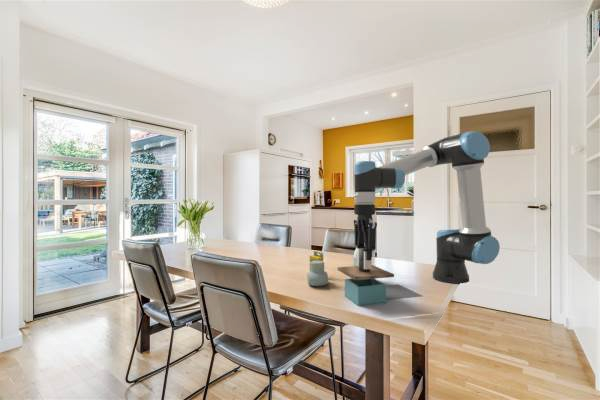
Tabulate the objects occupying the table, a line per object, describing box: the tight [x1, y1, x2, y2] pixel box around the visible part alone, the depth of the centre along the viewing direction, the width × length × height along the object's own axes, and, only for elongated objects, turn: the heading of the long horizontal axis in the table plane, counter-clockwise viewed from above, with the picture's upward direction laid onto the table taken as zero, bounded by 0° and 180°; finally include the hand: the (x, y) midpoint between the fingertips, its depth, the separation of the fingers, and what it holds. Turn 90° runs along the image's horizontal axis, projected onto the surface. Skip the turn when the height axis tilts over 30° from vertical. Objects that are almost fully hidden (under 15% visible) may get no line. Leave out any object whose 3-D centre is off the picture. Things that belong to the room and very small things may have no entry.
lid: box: [336, 248, 395, 280], centre depth 110 cm, size 15×15×9 cm
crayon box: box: [309, 250, 324, 272], centre depth 144 cm, size 7×3×12 cm, turn 35°
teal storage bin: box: [344, 277, 387, 307], centre depth 110 cm, size 11×11×7 cm
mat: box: [386, 284, 423, 301], centre depth 119 cm, size 16×16×1 cm
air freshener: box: [306, 260, 329, 287], centre depth 131 cm, size 11×8×10 cm
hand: (364, 267), depth 110 cm, fingers closed on lid, 4 cm apart
